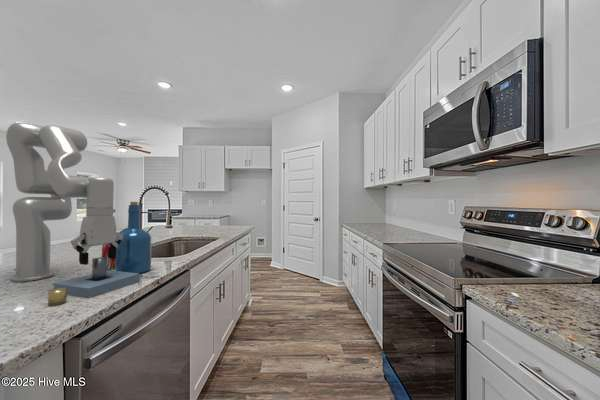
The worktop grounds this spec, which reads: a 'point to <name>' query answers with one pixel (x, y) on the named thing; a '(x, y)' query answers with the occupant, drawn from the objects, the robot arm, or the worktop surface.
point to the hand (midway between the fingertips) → (98, 261)
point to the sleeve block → (98, 283)
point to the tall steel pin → (99, 268)
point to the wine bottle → (134, 245)
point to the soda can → (105, 254)
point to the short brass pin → (57, 297)
